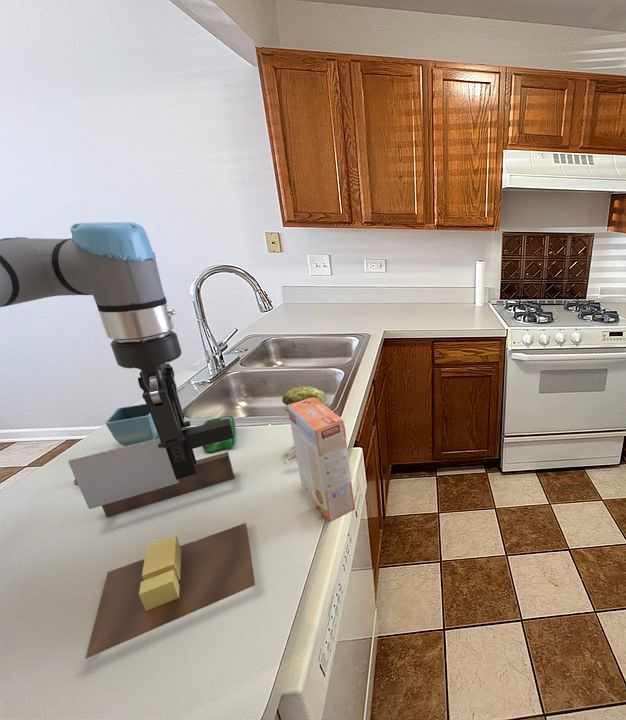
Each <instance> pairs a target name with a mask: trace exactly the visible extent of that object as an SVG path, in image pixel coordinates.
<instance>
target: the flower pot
mask: <svg viewBox="0 0 626 720" xmlns="http://www.w3.org/2000/svg"><path fill="white" fill-rule="evenodd" d="M105 425H106V427H107V429H108V430H109V432H110V434H111V435H112V437H113V438H114V440H115V441H116V442H117V443H118V444H120V445H121V446H122V447H125V446H129V445H133V444H138V443H142V442H146V441H150V440H154V439H157V437H159V436H158V433H157V430H156V427H155V425H154V422H153V419H152V416H151V414H150V411H149V408H148V406H147V404H146V403H141V404H135V405H129V406H123V407H118V408H116V409H115V410H114V412H113V413H112V414H111V415H110V417H108V419H107V420H106V421H105Z"/></svg>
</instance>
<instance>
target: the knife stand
mask: <svg viewBox="0 0 626 720" xmlns="http://www.w3.org/2000/svg"><path fill="white" fill-rule="evenodd" d="M194 465H195V468H196V474H195V475H191V476H188V477H184V478H181V479H178V481H179V483H177V484H173V485H170V486H166V487H163V488H160V489H156V490H153V491H149V492H146V493H143V494H139V495H136V496H133V497H129V498H126V499H122V500H119V501H116V502H112V503H109V504H105V505H102V506H101V508H102V510H103V512H104V515H105V517H106V518H110V517H114V516H117V515H119V514H123V513H126V512H129V511H133V510H136V509H140V508H143V507H146V506H150V505H153V504H156V503H159V502H163V501H166V500H170V499H172V498H175V497H176V498H177V497H180V496H182V495H186V494H189V493H192V492H195V491H199V490H203V489H206V488H209V487H213V486H216V485H219V484H222V483H225V482H229V481H232V480H235V473H234V469H233V465H232V461H231V458H230V454H229V451H226V452H221V453H217V454H215V455H211V456H207V457H204V458H200V459H196V464H194Z"/></svg>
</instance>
